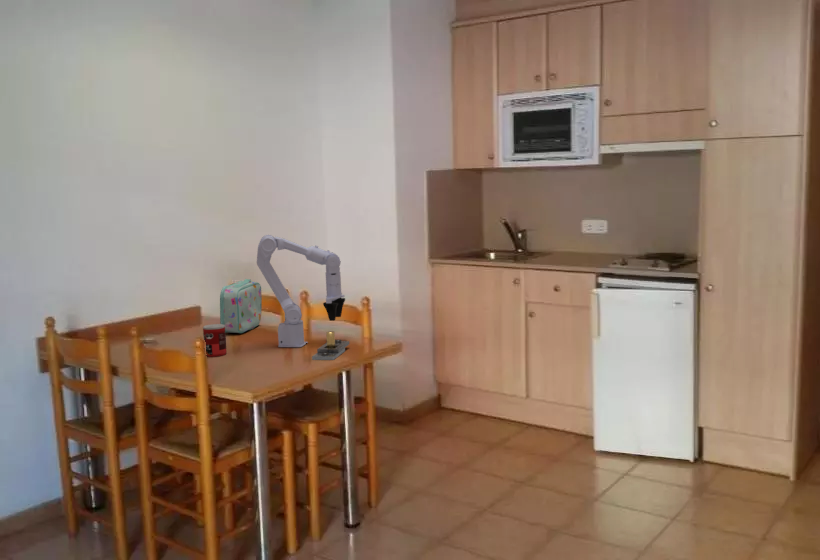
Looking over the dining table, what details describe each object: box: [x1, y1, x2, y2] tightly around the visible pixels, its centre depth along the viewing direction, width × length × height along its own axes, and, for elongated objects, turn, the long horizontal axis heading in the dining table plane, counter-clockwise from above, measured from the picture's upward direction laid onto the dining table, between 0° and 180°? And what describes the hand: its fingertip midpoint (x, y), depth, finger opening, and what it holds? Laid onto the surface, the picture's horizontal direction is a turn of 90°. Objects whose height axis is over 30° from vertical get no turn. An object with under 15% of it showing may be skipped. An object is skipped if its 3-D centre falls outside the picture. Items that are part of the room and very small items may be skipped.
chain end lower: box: [311, 347, 346, 361], centre depth 295 cm, size 8×14×2 cm, turn 168°
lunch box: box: [219, 278, 263, 334], centre depth 350 cm, size 27×10×21 cm, turn 169°
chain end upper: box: [316, 339, 350, 353], centre depth 301 cm, size 8×14×2 cm, turn 168°
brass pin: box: [325, 330, 336, 348], centre depth 298 cm, size 3×3×8 cm
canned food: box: [202, 323, 228, 358], centre depth 303 cm, size 8×8×11 cm
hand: (335, 318), depth 316 cm, fingers open, 7 cm apart
